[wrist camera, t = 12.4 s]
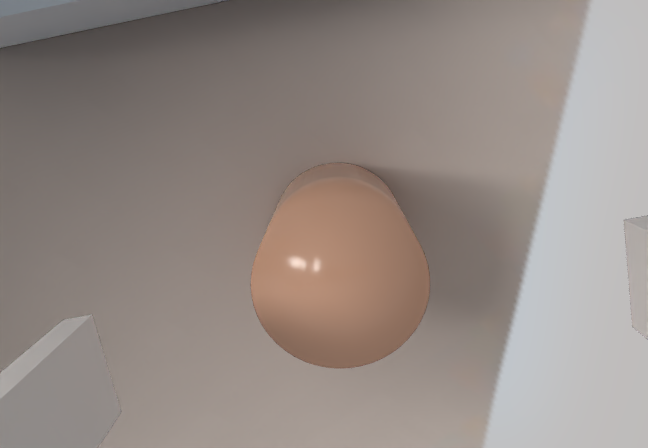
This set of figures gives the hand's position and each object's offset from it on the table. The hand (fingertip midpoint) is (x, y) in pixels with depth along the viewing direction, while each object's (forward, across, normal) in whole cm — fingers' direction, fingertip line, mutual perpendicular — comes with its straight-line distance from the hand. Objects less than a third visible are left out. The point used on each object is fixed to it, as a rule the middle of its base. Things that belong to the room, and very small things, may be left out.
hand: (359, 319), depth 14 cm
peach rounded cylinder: (+9, 0, 0) cm, 9 cm away
